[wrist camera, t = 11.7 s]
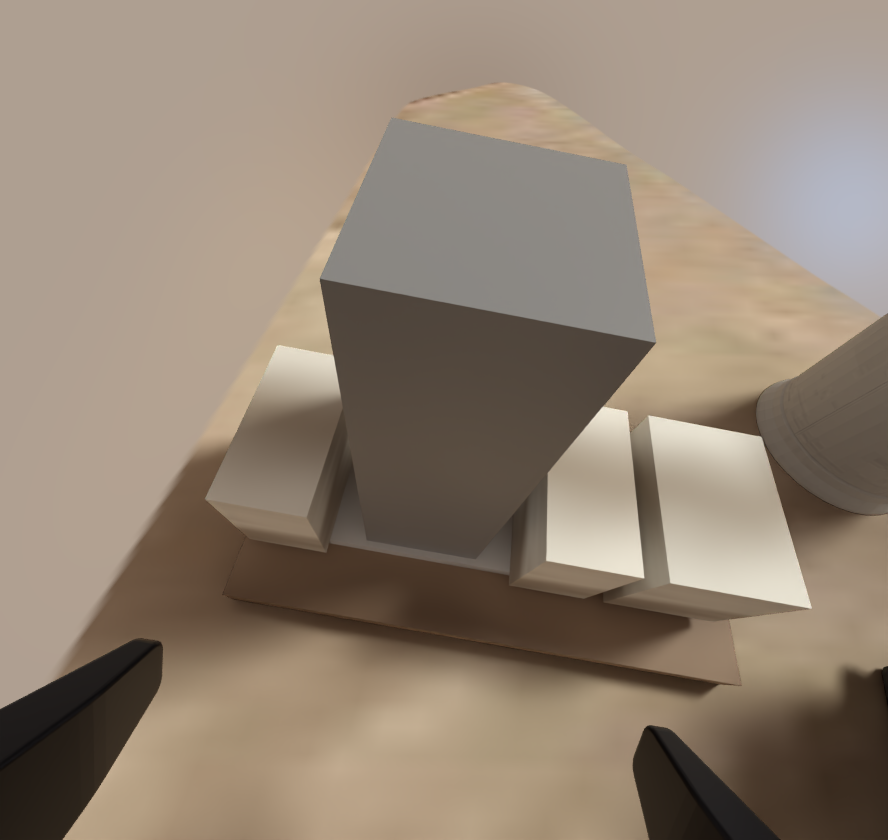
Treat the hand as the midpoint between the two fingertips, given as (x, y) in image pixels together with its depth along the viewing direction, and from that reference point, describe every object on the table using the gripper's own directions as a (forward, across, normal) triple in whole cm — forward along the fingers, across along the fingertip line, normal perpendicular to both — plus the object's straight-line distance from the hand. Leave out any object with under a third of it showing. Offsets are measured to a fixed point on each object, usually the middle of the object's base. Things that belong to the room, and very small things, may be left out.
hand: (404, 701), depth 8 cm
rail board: (+11, -3, +2) cm, 12 cm away
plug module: (+10, 0, 0) cm, 10 cm away
